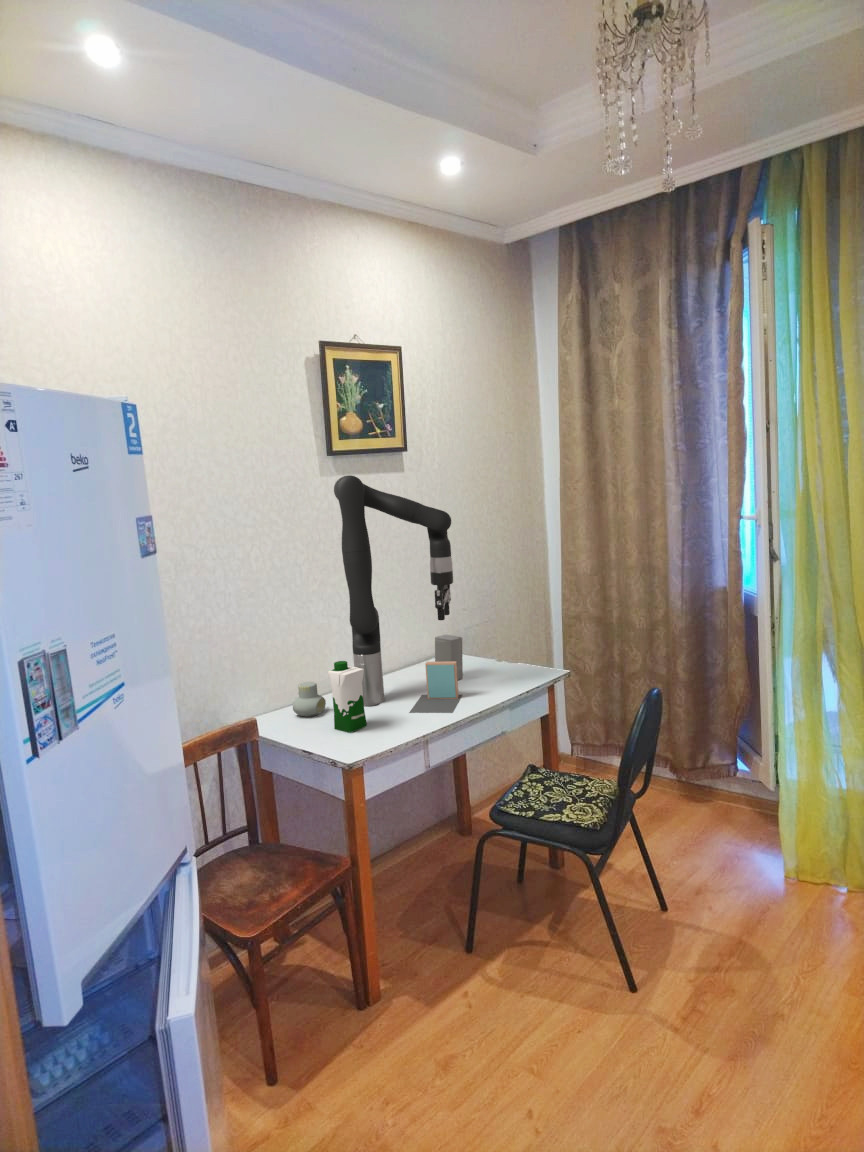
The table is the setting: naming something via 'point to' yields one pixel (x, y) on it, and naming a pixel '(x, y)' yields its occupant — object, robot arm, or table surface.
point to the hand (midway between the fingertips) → (443, 617)
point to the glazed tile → (442, 680)
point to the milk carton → (347, 697)
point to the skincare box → (449, 651)
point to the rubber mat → (435, 705)
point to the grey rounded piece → (308, 700)
